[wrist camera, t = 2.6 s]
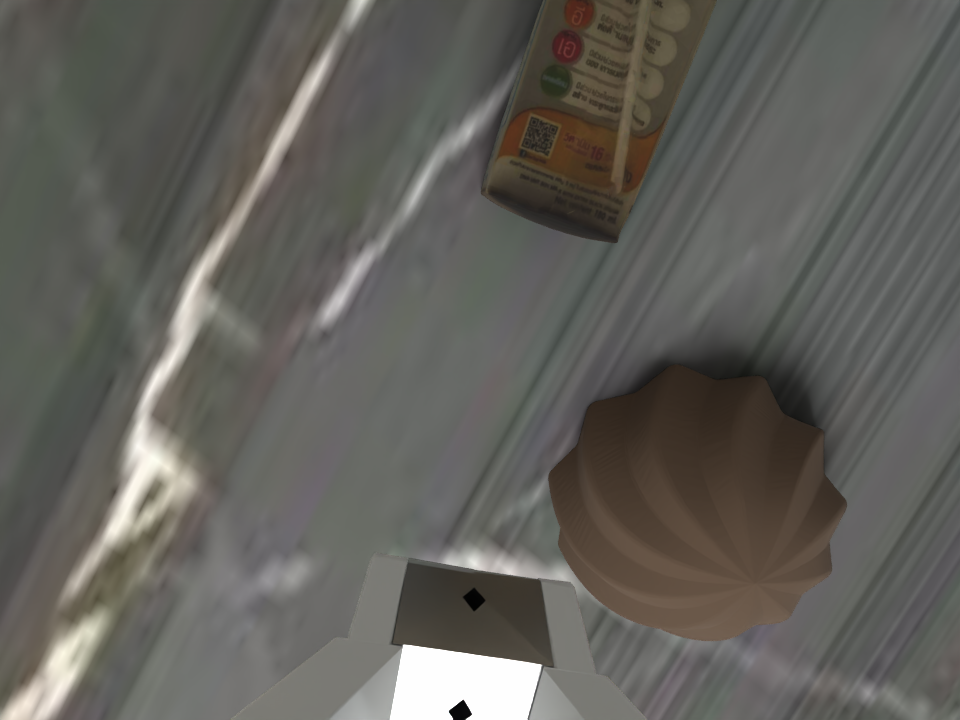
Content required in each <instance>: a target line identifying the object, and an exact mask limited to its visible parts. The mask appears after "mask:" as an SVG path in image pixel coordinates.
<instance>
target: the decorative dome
mask: <svg viewBox="0 0 960 720" xmlns="http://www.w3.org/2000/svg"><path fill="white" fill-rule="evenodd" d="M548 480H549V487H550V493H551V498H552V503H553V507H554V511H555V514H556V517H557V520H558V523H559V525H560V534H559V541H558V545H559V548H560V550H561V552H562V554H563V556H564V558H565V559H566V561H567V563H568V564H569V566H570V568H571V569H572V571H573V572H574V574H575V575H576V576H577V578H578V579H579V580H580V582H581V583H582V584H583V585H584V587H585V588H586V589H587V590H588V591H589V592H590V593H591V594H592V595H593V596H594V597H595V598H596V599H597V600H598V601H600V602H601V603H602V604H603V605H605V606H606V607H608V608H609V609H610V610H612V611H614V612H615V613H617V614H619V615H620V616H622V617H624V618H626V619H629V620H631V621H633V622H636V623H638V624H642V625H645V626H649V627H653V628H658V629H662V630H664V631H666V632H669V633H671V634H674V635H677V636H681V637H684V638H689V639H694V640H701V641H720V640H727V639H730V638H734V637H736V636H738V635H740V634H741V633H743V632H745V631H746V630H748V629H750V628H751V627H753V626H755V625H765V624H775V623H780V622H783V621H785V620H787V619H788V618H789V617H790V616H791V614H792V613H793V611H794V609H795V607H796V605H797V603H798V602H799V600H800V598H801V596H802V595H803V594H804V593H805V592H807V591H808V590H809V589H811V588H812V587H814V586H815V585H817V584H818V583H820V582H821V581H823V580H824V579H825V578H827V577H828V576H829V575H830V574H831V572H832V563H831V554H830V543H829V541H830V539H831V537H832V535H833V533H834V531H835V529H836V528H837V526H838V524H839V522H840V520H841V518H842V516H843V514H844V513H845V511H846V508H847V502H846V500H845V498H844V497H843V496H842V495H841V494H840V493H839V491H838V490H837V489H836V488H835V487H834V485H833V484H832V483H831V482H830V480H829V479H828V478H827V477H826V475H825V474H824V431H823V430H822V429H819V428H816V427H813V426H811V425H808V424H805V423H803V422H800V421H798V420H796V419H794V418H791V417H789V416H787V415H785V414H784V413H783V412H782V411H781V409H780V408H779V406H778V404H777V401H776V399H775V397H774V395H773V393H772V391H771V389H770V387H769V385H768V383H767V381H766V379H765V378H763V377H761V376H757V375H756V376H746V377H737V378H729V379H719V380H715V379H713V378H710V377H708V376H705V375H703V374H701V373H698V372H696V371H694V370H691V369H689V368H686V367H684V366H682V365H671V366H669V367H667V368H666V369H665V370H664V371H663V372H661V373H660V374H659V375H657V376H656V377H655V378H654V379H652V380H651V381H650V382H649V383H648V384H646V385H645V386H644V387H643V388H641V389H640V390H639V391H637V392H636V393H633V394H628V395H623V396H619V397H614V398H610V399H605V400H600V401H596V402H594V403H592V404H591V405H590V406H589V407H588V409H587V413H586V416H585V420H584V423H583V427H582V431H581V434H580V437H579V441H578V444H577V446H576V447H575V448H574V449H573V450H572V451H571V452H570V453H569V454H568V455H567V456H566V457H565V458H564V459H563V460H562V461H561V462H560V463H558V464H557V465H556V466H555V467H554V468H553V469H552V470H551V472H550V473H549V477H548Z"/></svg>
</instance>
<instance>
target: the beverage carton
mask: <svg viewBox="0 0 960 720" xmlns="http://www.w3.org/2000/svg"><path fill="white" fill-rule="evenodd" d="M716 1H717V0H543V2H542V4H541V7H540V10H539V13H538V16H537V19H536V22H535V24H534V28H533V30H532V33H531V37H530V39H529V42H528V45H527V48H526V51H525V54H524V57H523V60H522V63H521V66H520V69H519V72H518V74H517V77H516V80H515V83H514V86H513V89H512V92H511V95H510V98H509V101H508V104H507V107H506V110H505V113H504V116H503V119H502V122H501V125H500V128H499V131H498V134H497V137H496V141H495V144H494V147H493V150H492V154H491V157H490V160H489V163H488V166H487V170H486V174H485V177H484V181H483V185H482V190H481V194H482V195H483V196H485V197H486V198H487V199H489V200H490V201H492V202H494V203H495V204H497V205H499V206H500V207H502V208H504V209H506V210H508V211H510V212H513V213H515V214H517V215H519V216H521V217H524V218H526V219H528V220H530V221H533V222H536V223H538V224H541V225H544V226H546V227H549V228H552V229H555V230H558V231H561V232H564V233H567V234H571V235H575V236H578V237H582V238H586V239H592V240H598V241H604V242H611V243H617V242H618V238H619V234H620V232H621V230H622V228H623V226H624V224H625V222H626V220H627V218H628V216H629V214H630V212H631V210H632V207H633V204H634V202H635V199H636V197H637V194H638V192H639V190H640V188H641V185H642V183H643V181H644V179H645V176H646V174H647V171H648V169H649V167H650V164H651V162H652V159H653V157H654V154H655V152H656V150H657V147H658V145H659V142H660V140H661V137H662V135H663V133H664V130H665V127H666V124H667V122H668V119H669V117H670V115H671V112H672V110H673V107H674V105H675V102H676V100H677V97H678V95H679V93H680V90H681V88H682V85H683V83H684V80H685V78H686V76H687V73H688V71H689V68H690V66H691V64H692V61H693V59H694V56H695V54H696V51H697V49H698V46H699V44H700V41H701V39H702V36H703V34H704V31H705V29H706V26H707V24H708V21H709V19H710V16H711V14H712V11H713V9H714V6H715V4H716Z"/></svg>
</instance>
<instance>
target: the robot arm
mask: <svg viewBox="0 0 960 720" xmlns="http://www.w3.org/2000/svg"><path fill="white" fill-rule="evenodd" d="M407 560H408V564H407ZM406 567H407V569H406ZM405 573H406V574H405ZM230 720H647V718H646V717H645V716H644V715H643V714H642V713H641V712H640V711H639V710H638V709H637V708H636V707H635V705H634V704H633V703H632V702H631V701H630V700H629V699H628V698H627V697H626V696H625V695H624V694H623V692H622V691H621V690H620V689H619V688H618V687H617V686H616V685H615V684H614V683H613V682H612V681H611V680H610V678H609V677H608V676H603V675H597V673H596V670H595V666H594V662H593V658H592V654H591V650H590V646H589V642H588V638H587V634H586V630H585V627H584V623H583V619H582V615H581V611H580V607H579V603H578V599H577V595H576V591H575V587H574V586H573V585H572V584H571V583H570V582H564V581H556V580H549V579H541V578H538V579H533V578H526V577H519V576H513V575H506V574H499V573H492V572H486V571H479V570H474V569H469V568H463V567H458V566H452V565H446V564H441V563H435V562H430V561H424V560H418V559H413V558H409V559H407V558H405V557H399V556H393V555H387V554H381V553H374V554H373V556H372V558H371V560H370V563H369V567H368V570H367V573H366V577H365V580H364V583H363V587H362V590H361V593H360V597H359V600H358V603H357V607H356V610H355V613H354V617H353V620H352V623H351V627H350V630H349V633H348V637H347V638H339V637H335V638H334V639H333V640H332V641H330V642H329V643H328V644H326V645H325V646H324V647H323V648H321V649H320V650H319V651H317V652H316V653H315V654H314V655H312V656H311V657H310V658H308V659H307V660H306V661H305V662H303V663H302V664H301V665H300V666H298V667H297V668H296V669H294V670H293V671H292V672H291V673H289V674H288V675H287V676H285V677H284V678H283V679H282V680H280V681H279V682H278V683H276V684H275V685H274V686H273V687H271V688H270V689H269V690H267V691H266V692H265V693H264V694H262V695H261V696H260V697H258V698H257V699H256V700H255V701H253V702H252V703H251V704H250V705H248V706H247V707H246V708H244V709H243V710H242V711H241V712H239V713H238V714H237V715H235V716H234V717H233V718H232V719H230Z"/></svg>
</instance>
